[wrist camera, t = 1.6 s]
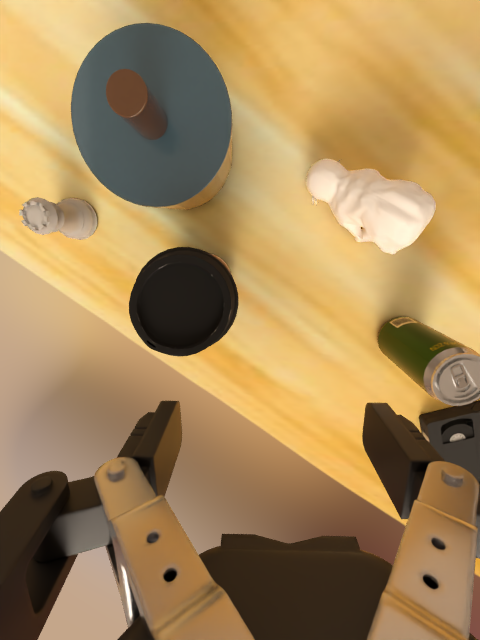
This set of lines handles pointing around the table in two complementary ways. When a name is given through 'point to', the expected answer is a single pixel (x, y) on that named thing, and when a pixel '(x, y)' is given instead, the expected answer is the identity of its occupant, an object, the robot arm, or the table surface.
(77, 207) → the rook chess piece
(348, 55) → the table surface
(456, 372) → the beer can
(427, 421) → the vhs tape
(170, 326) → the coffee cup
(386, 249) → the white figurine
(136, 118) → the lid
